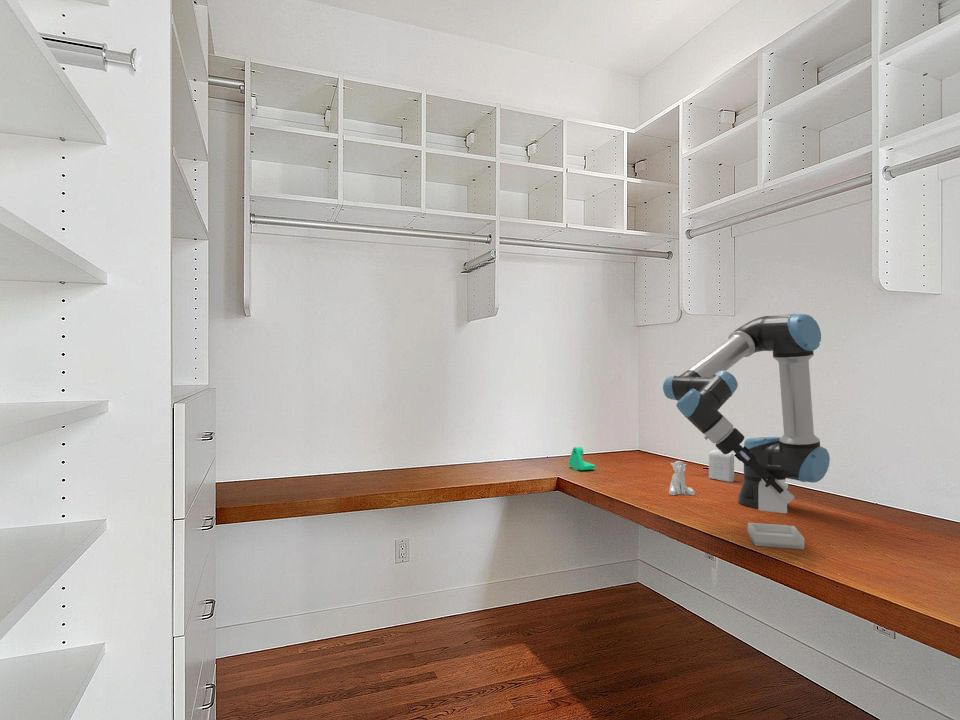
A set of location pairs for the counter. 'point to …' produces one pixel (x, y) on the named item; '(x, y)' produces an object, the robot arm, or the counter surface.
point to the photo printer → (721, 466)
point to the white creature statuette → (679, 481)
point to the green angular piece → (579, 460)
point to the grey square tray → (775, 536)
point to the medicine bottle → (767, 496)
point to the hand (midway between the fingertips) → (787, 496)
